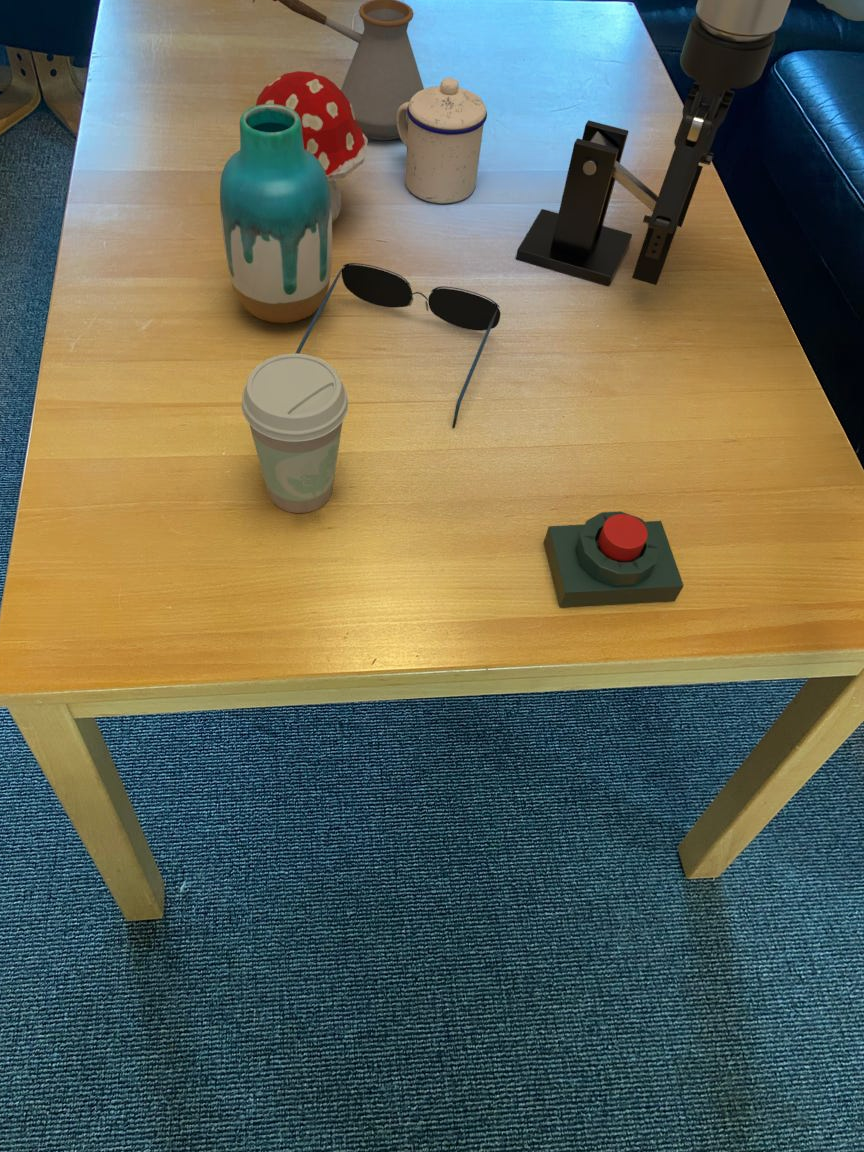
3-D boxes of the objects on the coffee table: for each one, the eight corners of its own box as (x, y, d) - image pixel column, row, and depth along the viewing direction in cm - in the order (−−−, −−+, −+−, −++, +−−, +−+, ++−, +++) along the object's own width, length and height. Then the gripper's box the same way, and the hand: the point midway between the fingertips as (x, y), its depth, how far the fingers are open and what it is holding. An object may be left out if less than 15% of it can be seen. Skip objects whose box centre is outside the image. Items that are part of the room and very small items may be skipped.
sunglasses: (498, 335, 90) (504, 298, 85) (454, 442, 84) (458, 408, 79) (344, 294, 92) (342, 256, 88) (292, 395, 86) (286, 359, 82)
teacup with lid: (492, 186, 105) (507, 83, 95) (442, 215, 101) (452, 111, 91) (421, 146, 109) (429, 44, 99) (370, 172, 105) (373, 68, 95)
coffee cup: (262, 533, 74) (250, 431, 64) (244, 462, 79) (230, 356, 69) (358, 515, 76) (360, 413, 66) (335, 447, 80) (334, 341, 70)
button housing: (653, 536, 76) (668, 506, 73) (675, 601, 72) (691, 572, 69) (543, 542, 75) (552, 512, 72) (559, 607, 71) (570, 579, 68)
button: (635, 526, 72) (641, 512, 70) (646, 560, 70) (653, 547, 68) (593, 528, 71) (598, 514, 70) (603, 562, 70) (609, 549, 68)
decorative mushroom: (254, 258, 95) (241, 116, 82) (240, 187, 102) (226, 47, 90) (377, 248, 97) (382, 108, 84) (355, 179, 104) (357, 41, 92)
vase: (226, 338, 88) (200, 147, 72) (238, 274, 93) (217, 84, 77) (329, 343, 88) (327, 155, 72) (335, 279, 94) (334, 91, 77)
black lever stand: (629, 243, 100) (664, 129, 89) (609, 286, 95) (643, 172, 84) (539, 218, 102) (563, 103, 91) (515, 259, 97) (537, 143, 86)
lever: (671, 216, 93) (687, 200, 91) (661, 241, 91) (677, 224, 89) (586, 143, 91) (601, 124, 89) (573, 166, 88) (587, 147, 86)
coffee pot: (425, 104, 115) (435, -30, 102) (426, 150, 108) (438, 14, 96) (265, 96, 114) (255, -39, 101) (257, 142, 108) (246, 4, 95)
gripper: (720, -36, 82) (650, 187, 101) (662, 70, 71) (596, 301, 89) (798, -19, 81) (713, 204, 100) (753, 92, 69) (666, 321, 88)
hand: (657, 250), depth 94 cm, fingers open, 11 cm apart
